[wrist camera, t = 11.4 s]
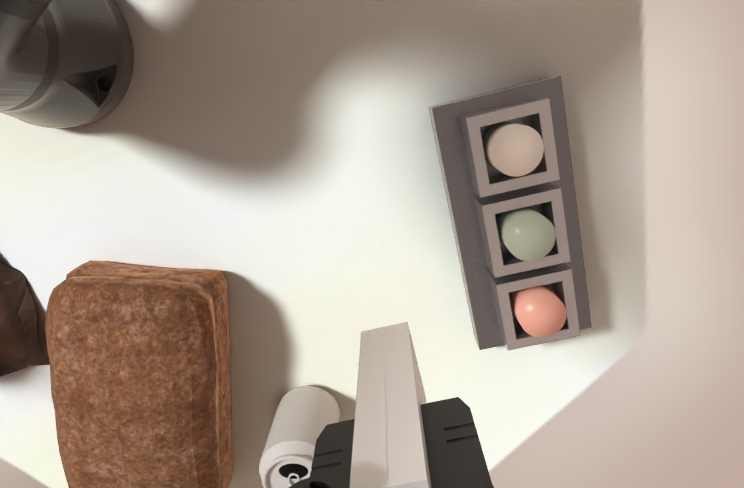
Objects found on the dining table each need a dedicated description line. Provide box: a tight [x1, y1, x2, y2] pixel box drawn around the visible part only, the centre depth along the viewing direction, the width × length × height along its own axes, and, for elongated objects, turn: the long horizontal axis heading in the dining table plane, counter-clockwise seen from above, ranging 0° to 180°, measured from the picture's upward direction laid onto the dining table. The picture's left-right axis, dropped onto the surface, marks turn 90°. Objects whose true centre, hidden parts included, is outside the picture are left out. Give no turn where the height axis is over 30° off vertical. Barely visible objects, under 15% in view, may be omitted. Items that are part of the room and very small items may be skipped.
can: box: [259, 386, 340, 488], centre depth 53 cm, size 8×8×12 cm
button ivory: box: [482, 122, 544, 177], centre depth 44 cm, size 4×4×4 cm
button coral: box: [509, 285, 567, 338], centre depth 48 cm, size 4×4×4 cm
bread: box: [45, 261, 232, 488], centre depth 52 cm, size 17×29×11 cm, turn 176°
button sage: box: [496, 206, 556, 261], centre depth 46 cm, size 4×4×4 cm
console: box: [429, 76, 591, 350], centre depth 48 cm, size 26×12×6 cm, turn 14°
